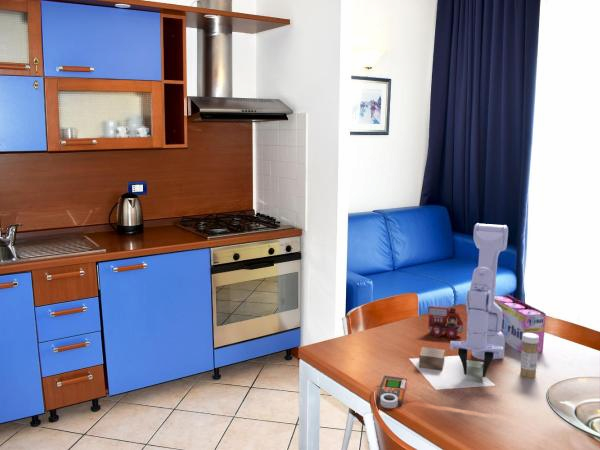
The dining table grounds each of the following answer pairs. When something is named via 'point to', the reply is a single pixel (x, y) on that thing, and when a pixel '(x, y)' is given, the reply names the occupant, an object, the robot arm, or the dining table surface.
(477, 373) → the sage cube
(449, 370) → the build board
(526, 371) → the sprinkles bottle
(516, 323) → the gum box
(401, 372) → the dining table surface
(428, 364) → the walnut plinth
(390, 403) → the electronic device
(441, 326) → the toy fire truck
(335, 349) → the dining table surface
